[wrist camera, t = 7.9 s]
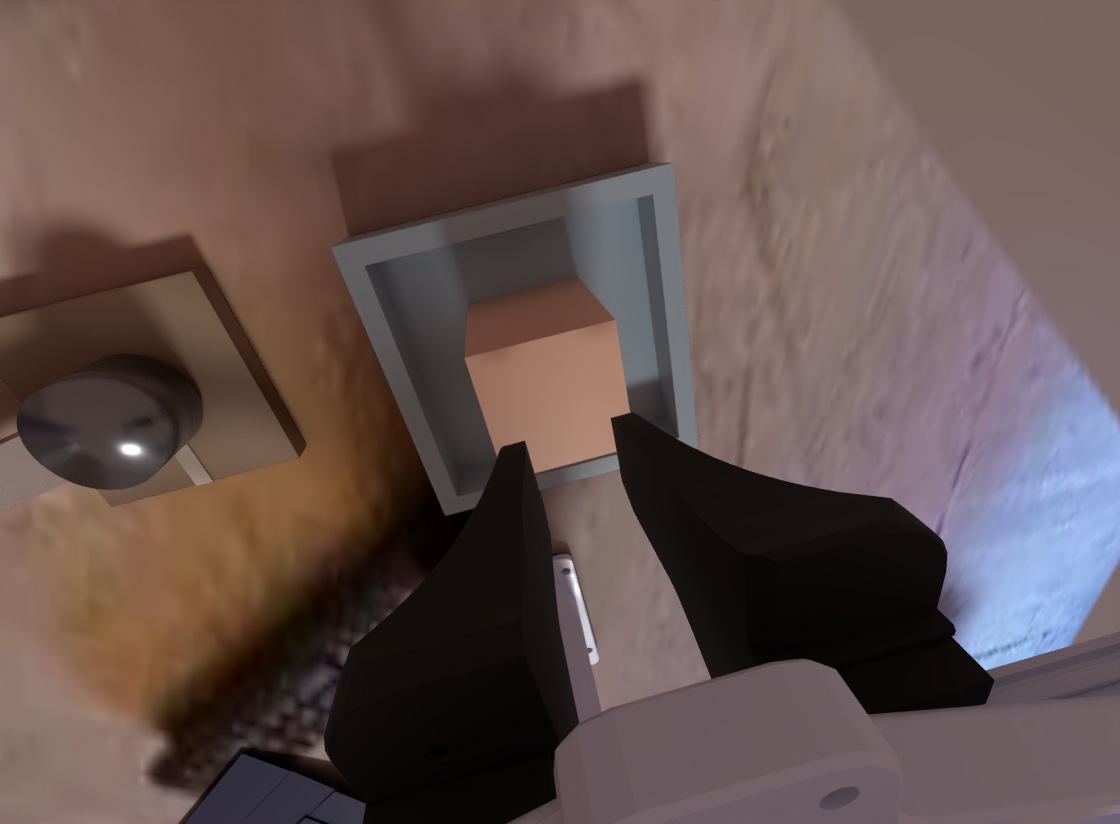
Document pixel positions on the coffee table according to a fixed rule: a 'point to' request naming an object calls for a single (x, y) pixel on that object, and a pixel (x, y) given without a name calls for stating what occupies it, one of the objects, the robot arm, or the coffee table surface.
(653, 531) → the robot arm
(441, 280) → the tray
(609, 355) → the block
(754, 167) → the coffee table surface
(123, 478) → the crank
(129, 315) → the crank base
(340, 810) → the dark grey flat slab
